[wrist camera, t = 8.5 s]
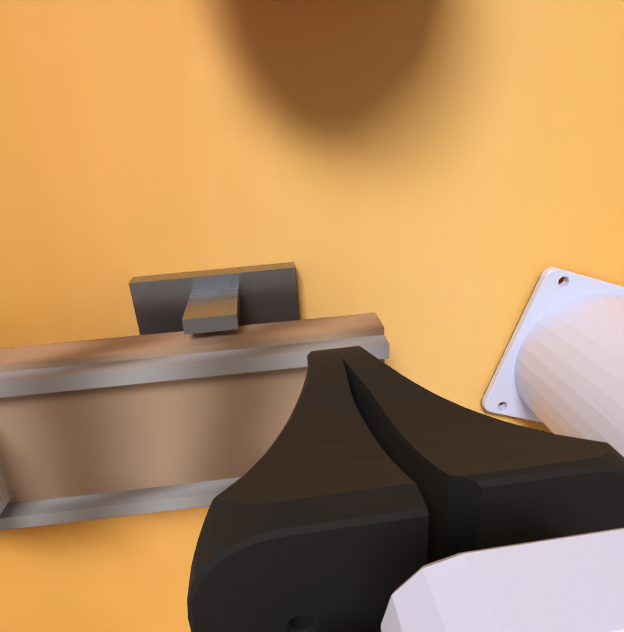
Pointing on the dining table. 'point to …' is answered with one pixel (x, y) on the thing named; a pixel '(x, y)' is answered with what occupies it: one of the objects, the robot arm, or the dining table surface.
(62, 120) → the dining table surface
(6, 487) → the block
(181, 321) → the fulcrum stand
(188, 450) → the beam
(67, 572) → the dining table surface
